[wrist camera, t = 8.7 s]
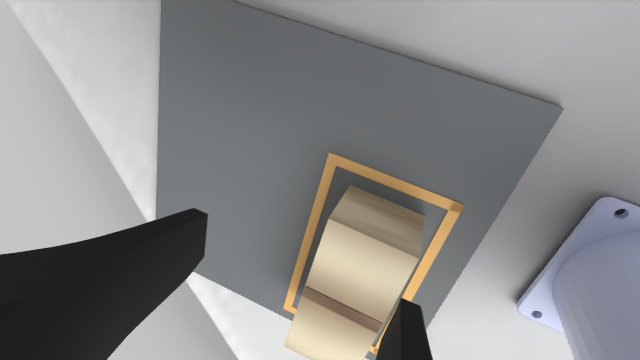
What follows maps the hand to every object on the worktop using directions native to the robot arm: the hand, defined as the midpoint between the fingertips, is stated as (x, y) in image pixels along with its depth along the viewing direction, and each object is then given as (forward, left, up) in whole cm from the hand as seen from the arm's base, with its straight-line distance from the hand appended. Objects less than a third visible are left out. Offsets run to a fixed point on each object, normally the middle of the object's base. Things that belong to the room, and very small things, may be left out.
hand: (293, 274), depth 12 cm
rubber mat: (+3, +3, -9) cm, 10 cm away
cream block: (-2, +6, -9) cm, 11 cm away
